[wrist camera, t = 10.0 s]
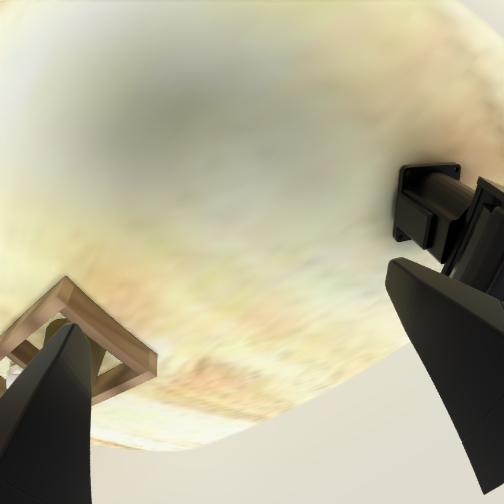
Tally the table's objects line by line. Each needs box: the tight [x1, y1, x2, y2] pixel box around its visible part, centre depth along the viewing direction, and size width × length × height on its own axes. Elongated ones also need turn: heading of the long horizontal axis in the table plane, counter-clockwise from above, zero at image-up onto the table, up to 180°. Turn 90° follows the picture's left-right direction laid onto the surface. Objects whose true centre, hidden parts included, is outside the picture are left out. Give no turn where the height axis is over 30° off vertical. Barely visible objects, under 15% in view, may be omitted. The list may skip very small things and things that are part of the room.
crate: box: [0, 277, 157, 406], centre depth 25 cm, size 21×11×2 cm, turn 121°
